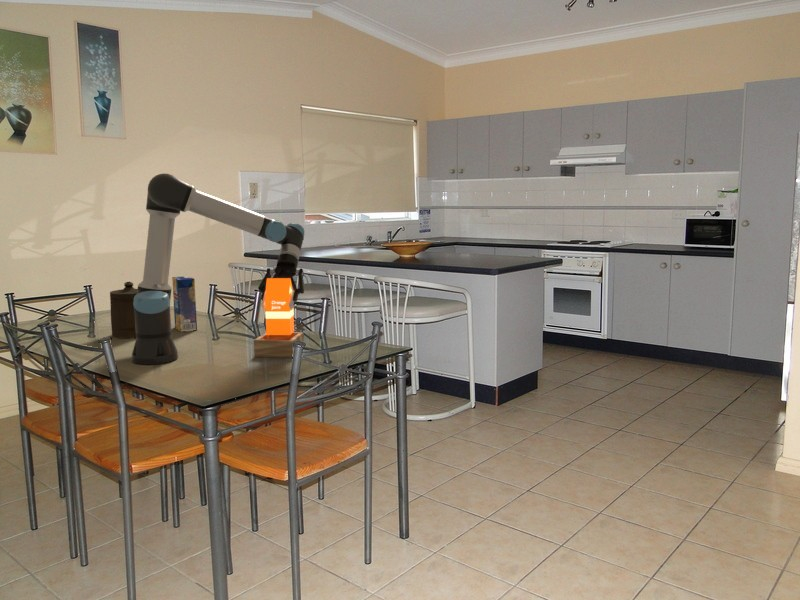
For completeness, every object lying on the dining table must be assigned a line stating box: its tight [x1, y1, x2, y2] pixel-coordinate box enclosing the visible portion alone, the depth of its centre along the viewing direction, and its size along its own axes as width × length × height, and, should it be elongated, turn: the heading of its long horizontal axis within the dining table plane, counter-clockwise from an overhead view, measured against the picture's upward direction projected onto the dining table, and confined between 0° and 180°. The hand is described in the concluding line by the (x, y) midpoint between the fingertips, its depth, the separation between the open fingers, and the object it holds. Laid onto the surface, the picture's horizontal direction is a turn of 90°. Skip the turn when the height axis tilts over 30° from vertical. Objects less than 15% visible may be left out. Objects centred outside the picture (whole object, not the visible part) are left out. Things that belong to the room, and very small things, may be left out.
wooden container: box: [109, 281, 138, 339], centre depth 275 cm, size 15×15×22 cm
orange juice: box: [264, 277, 295, 335], centre depth 244 cm, size 8×9×20 cm
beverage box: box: [171, 275, 198, 333], centre depth 287 cm, size 7×11×22 cm, turn 30°
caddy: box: [253, 331, 305, 359], centre depth 246 cm, size 15×14×6 cm
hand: (276, 307), depth 240 cm, fingers closed on orange juice, 9 cm apart
